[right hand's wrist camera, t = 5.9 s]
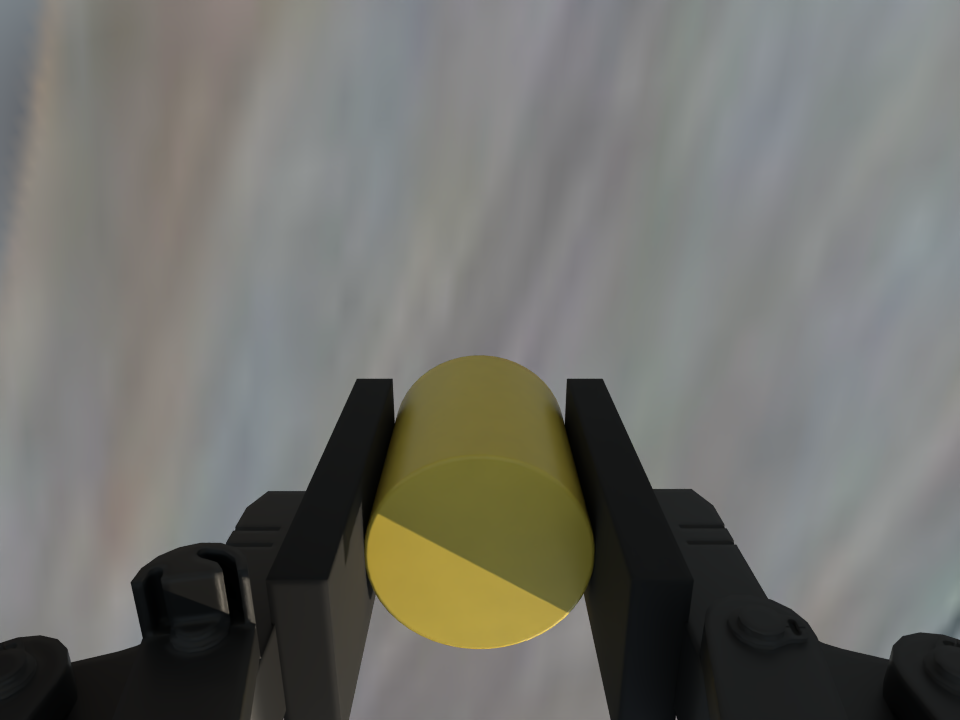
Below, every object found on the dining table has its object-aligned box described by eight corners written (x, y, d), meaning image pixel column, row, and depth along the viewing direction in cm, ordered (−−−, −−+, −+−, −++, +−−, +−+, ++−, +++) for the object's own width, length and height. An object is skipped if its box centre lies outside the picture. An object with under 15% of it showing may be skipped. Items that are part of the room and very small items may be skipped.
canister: (597, 437, 15) (643, 565, 11) (474, 533, 16) (473, 685, 12) (484, 319, 14) (486, 409, 10) (361, 428, 15) (313, 553, 11)
